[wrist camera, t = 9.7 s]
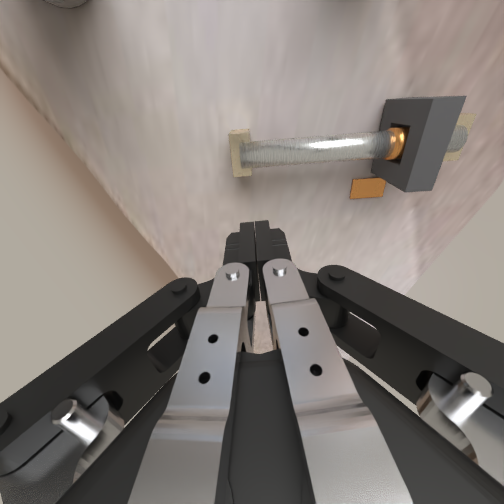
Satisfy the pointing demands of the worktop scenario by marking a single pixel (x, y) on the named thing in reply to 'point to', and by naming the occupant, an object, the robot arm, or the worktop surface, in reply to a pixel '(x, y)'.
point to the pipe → (335, 151)
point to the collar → (419, 139)
